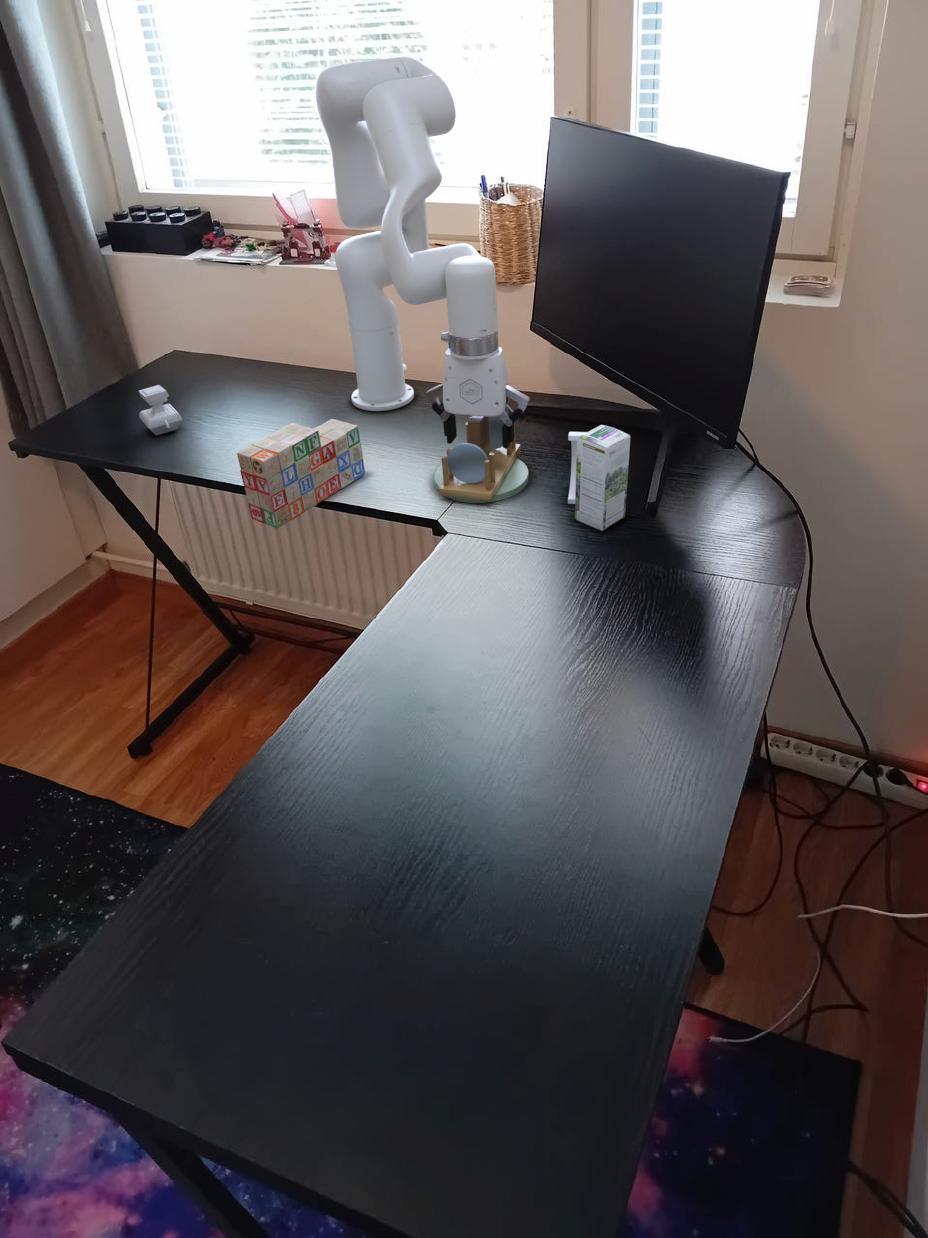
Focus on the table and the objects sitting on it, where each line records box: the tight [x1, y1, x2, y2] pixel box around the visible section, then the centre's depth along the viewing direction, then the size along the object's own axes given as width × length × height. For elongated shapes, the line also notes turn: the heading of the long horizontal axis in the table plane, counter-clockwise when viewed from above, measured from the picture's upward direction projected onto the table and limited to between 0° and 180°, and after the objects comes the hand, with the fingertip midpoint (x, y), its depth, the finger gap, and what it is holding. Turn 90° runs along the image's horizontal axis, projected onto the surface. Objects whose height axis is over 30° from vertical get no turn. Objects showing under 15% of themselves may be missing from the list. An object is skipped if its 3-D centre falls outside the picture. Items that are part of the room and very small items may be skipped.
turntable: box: [433, 457, 530, 504], centre depth 160 cm, size 16×16×1 cm
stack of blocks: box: [236, 418, 366, 529], centre depth 155 cm, size 21×6×12 cm, turn 143°
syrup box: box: [574, 424, 631, 532], centre depth 143 cm, size 6×6×14 cm
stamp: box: [138, 384, 183, 436], centre depth 182 cm, size 9×7×8 cm
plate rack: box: [437, 415, 522, 500], centre depth 156 cm, size 18×9×10 cm, turn 162°
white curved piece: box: [567, 431, 588, 505], centre depth 150 cm, size 5×6×12 cm
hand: (479, 442), depth 156 cm, fingers open, 9 cm apart
